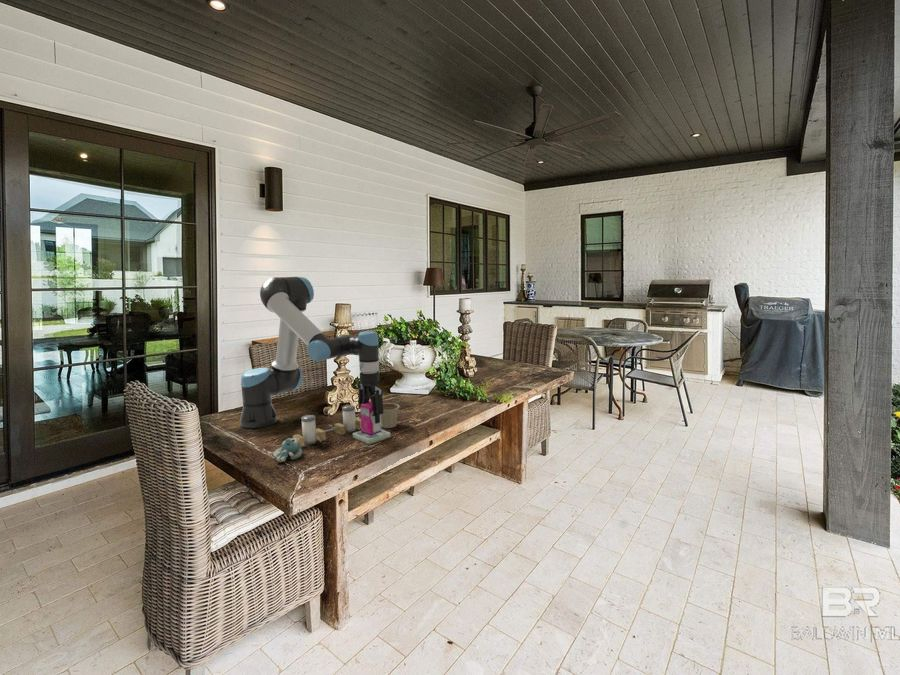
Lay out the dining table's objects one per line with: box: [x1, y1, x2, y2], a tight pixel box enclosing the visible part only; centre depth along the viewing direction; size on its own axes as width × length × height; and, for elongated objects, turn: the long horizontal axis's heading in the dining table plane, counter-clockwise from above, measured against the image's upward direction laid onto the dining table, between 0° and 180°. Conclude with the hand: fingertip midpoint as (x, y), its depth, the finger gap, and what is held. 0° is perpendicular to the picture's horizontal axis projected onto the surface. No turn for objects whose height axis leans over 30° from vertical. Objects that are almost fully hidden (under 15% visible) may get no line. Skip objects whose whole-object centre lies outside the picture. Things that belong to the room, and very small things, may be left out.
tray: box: [352, 428, 392, 445], centre depth 182 cm, size 11×11×2 cm
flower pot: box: [381, 402, 400, 429], centre depth 195 cm, size 9×9×9 cm
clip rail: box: [292, 417, 361, 448], centre depth 185 cm, size 8×29×4 cm, turn 135°
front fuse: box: [300, 414, 318, 446], centre depth 177 cm, size 5×5×10 cm
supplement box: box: [360, 401, 382, 436], centre depth 181 cm, size 6×6×12 cm
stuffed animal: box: [272, 437, 303, 463], centre depth 163 cm, size 11×7×12 cm
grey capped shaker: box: [341, 404, 357, 434], centre depth 190 cm, size 5×5×10 cm
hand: (371, 428), depth 182 cm, fingers closed on supplement box, 6 cm apart
